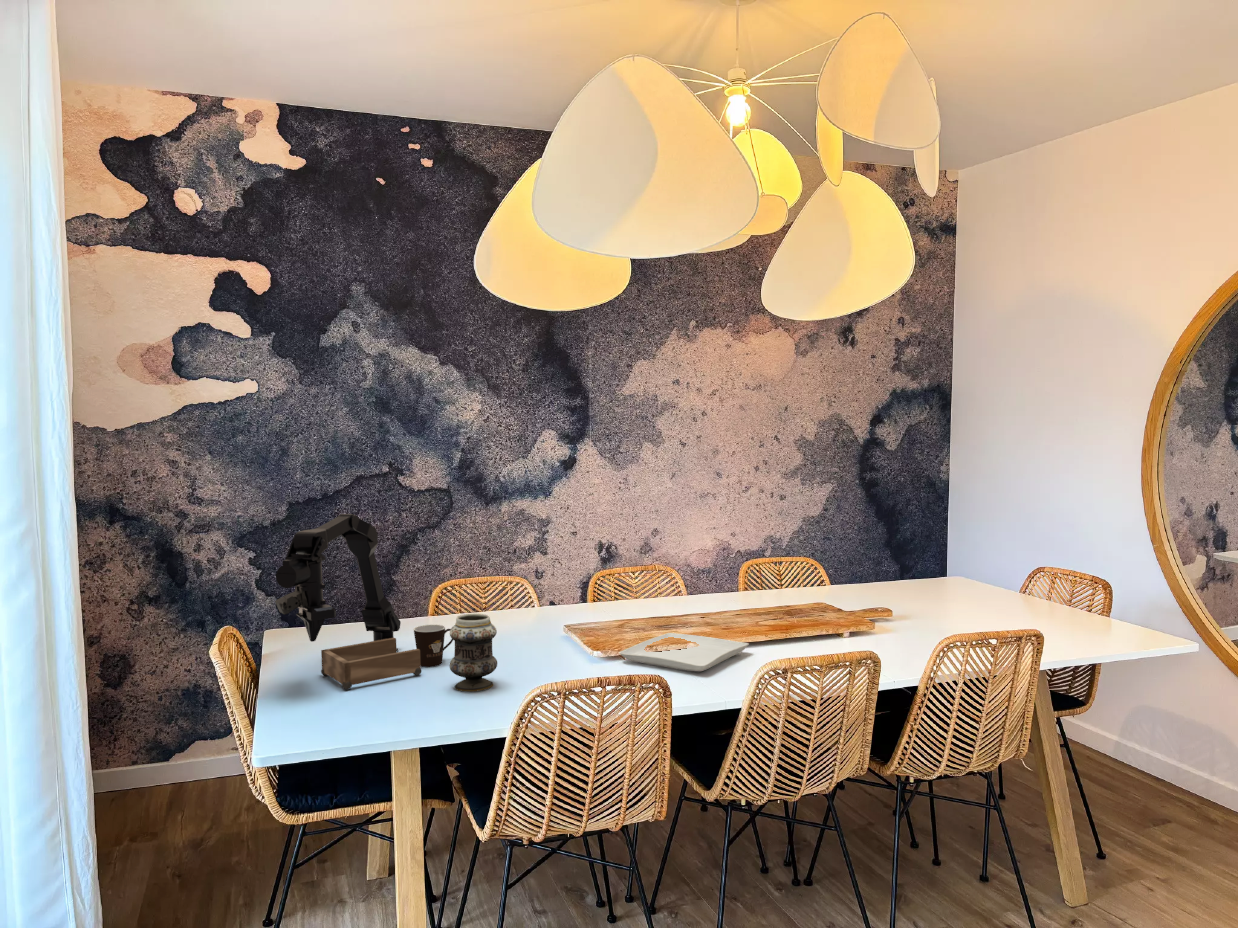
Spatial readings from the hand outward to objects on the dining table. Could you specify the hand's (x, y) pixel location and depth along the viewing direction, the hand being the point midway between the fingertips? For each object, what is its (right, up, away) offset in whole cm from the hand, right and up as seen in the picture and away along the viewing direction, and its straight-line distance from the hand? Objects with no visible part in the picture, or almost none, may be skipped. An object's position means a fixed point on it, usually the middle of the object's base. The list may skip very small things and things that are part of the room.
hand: (312, 641), depth 236 cm
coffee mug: (+27, -10, +21) cm, 36 cm away
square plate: (+97, -10, +22) cm, 100 cm away
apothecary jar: (+41, -12, -1) cm, 43 cm away
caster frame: (+13, -11, +10) cm, 20 cm away
